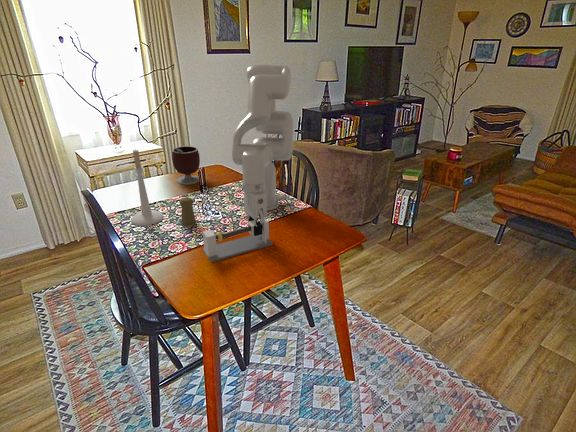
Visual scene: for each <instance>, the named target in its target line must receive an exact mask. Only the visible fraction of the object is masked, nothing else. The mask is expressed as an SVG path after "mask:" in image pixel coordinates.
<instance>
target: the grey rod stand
mask: <svg viewBox="0 0 576 432" xmlns="http://www.w3.org/2000/svg"><path fill="white" fill-rule="evenodd" d="M264 219H265V223H263V225H262V234H261V235H258V236H252V235H251V234H250V235H247V236H244V237H239V238H236V239H234V240H233V239H231V240H230V241H226V242H225V241H224V242H223V239H225V238H228V237H232V236H236V235H240V234H245V233H249V232H248V231H252V229H251V226H250V227H248V226H247V227H243V228H240V229H235V230H231V231H227V232H223V233H222V232H221V231H218V232H215V233H214V231H213V230H212V229H208V230H205V231H204V230H203V231H202V237H203V247H202V251H203V253H204V254H205V256H206V257H207V258H208V259H209V262H211V263H214V262H218V261H221V260H224V259H228V258H232V257H234V256H235V257H236V256H238V255H243V254H245V253H249V252H251V251H255V250H260V249H262V248H263V249H264V248H267V247H269V246H272V245H274V244H273V242H272V241H271V239H270V224H269V223H270V221H269V220H268V219H267V218H264ZM217 242H218V243H217ZM219 242H222V243H219Z"/></svg>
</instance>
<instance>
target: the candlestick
mask: <svg viewBox="0 0 576 432" xmlns="http://www.w3.org/2000/svg"><path fill="white" fill-rule="evenodd" d="M132 153H133V154H132V155H133V160H134V164H135V166H134V167H133V169H135V172H136V175H137V185H138V190H139V191H138V192H139V199H140V201H139V202H140V207H141V208H140V209H141V211H140V212H137V213H136V214H134V215H133V216H132V217H131V219H130V222H131V224H132V225H135V226H138V227H139V226H141V227H145V226H147V225H148V226H153V225H156V224H158V223H160V222H162V221H163V219H164V214H163V213H162V212H160V211H159V210H155V209H151V206H150V201H149V197H148V193H147V189H146V185H145V180H144V176H143V171H144V170H143V168H144V166H143V165H142V164H141V159H140V153H139V150H138V149H134V150H132ZM152 224H153V225H152Z"/></svg>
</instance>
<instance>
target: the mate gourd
mask: <svg viewBox="0 0 576 432" xmlns="http://www.w3.org/2000/svg"><path fill="white" fill-rule="evenodd" d="M171 151H172V152H171V159H172V164H173V167H174V169H175V170H176V171H177V172H178V173H179V174H182V175H183V176H180V177H178V178H176V182H177V183H178V184H180V185H194V184H197V183H199V182H200V181H199V180H198V177H199V175H192V174H194V173H196V172H197V171H198V170H199V168H200V165H201V164H200V163H201V158H200V152H199V148H198V147H195V146H193V145H182V146H176V147H175V148H172V150H171Z"/></svg>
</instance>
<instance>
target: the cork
mask: <svg viewBox="0 0 576 432" xmlns="http://www.w3.org/2000/svg"><path fill="white" fill-rule="evenodd" d="M193 204H194V201H193V198H191V197H188V196H187V197H183V198H180V200H179V205H180V207H181V214H180V215H181V216H180V217H181V221H180V222H181V226H183V227H191V226H194V225H196V223H197V219H196V216H195V212H194V209H193Z"/></svg>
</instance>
